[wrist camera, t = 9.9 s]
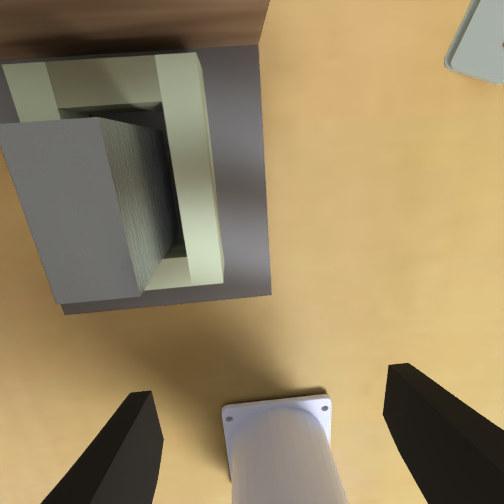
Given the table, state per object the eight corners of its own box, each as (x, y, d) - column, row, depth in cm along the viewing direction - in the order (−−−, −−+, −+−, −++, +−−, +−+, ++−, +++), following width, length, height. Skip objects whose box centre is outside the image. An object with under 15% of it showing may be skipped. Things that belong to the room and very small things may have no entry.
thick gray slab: (179, 232, 15) (140, 296, 9) (131, 236, 15) (56, 304, 9) (162, 130, 14) (97, 116, 7) (108, 134, 14) (-7, 124, 7)
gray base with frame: (269, 287, 18) (286, 351, 12) (73, 305, 18) (-1, 381, 12) (254, 12, 13) (271, -88, 7) (-19, 28, 13) (-218, -66, 7)
